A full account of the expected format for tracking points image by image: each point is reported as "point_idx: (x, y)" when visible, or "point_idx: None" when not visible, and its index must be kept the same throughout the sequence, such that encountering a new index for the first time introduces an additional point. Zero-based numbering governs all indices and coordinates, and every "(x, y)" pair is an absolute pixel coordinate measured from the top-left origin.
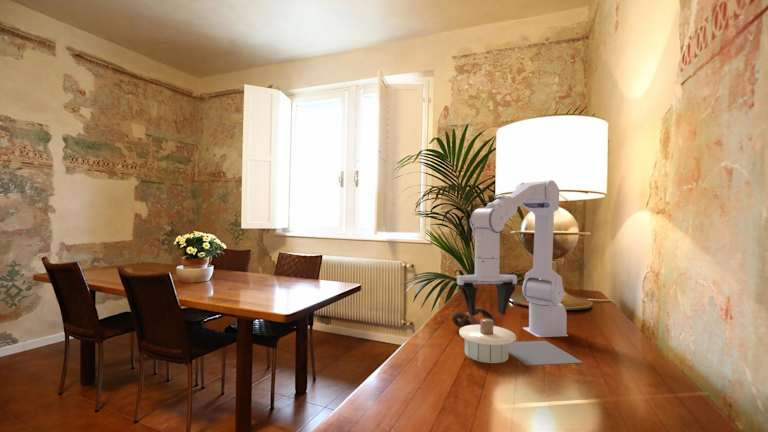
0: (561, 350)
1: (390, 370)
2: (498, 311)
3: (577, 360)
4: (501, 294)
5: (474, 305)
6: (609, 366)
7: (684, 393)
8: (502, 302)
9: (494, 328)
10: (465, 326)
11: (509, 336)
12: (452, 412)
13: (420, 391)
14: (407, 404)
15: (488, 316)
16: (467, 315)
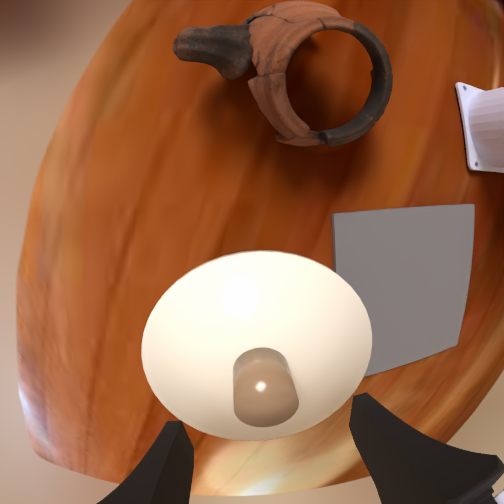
0: (467, 280)
1: (28, 373)
2: (354, 400)
3: (455, 338)
4: (394, 493)
5: (186, 495)
6: (480, 340)
7: (475, 402)
8: (374, 466)
9: (321, 312)
10: (179, 286)
11: (333, 394)
12: None
13: (92, 440)
14: (85, 456)
15: (371, 59)
16: (253, 58)
